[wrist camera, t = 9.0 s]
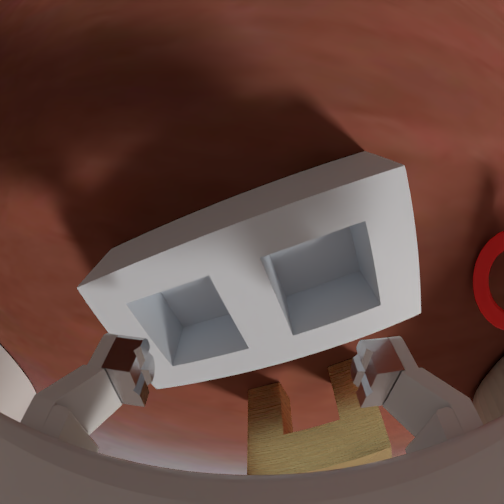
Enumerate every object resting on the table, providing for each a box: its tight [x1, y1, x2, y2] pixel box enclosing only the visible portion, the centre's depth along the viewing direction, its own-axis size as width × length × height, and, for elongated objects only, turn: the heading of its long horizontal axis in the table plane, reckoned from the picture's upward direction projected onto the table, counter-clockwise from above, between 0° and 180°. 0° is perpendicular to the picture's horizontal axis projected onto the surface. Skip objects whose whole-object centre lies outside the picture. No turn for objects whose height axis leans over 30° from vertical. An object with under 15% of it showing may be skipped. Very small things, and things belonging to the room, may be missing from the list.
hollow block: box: [77, 151, 421, 389], centre depth 13 cm, size 7×14×4 cm, turn 111°
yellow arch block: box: [247, 358, 392, 475], centre depth 16 cm, size 2×8×8 cm, turn 113°
